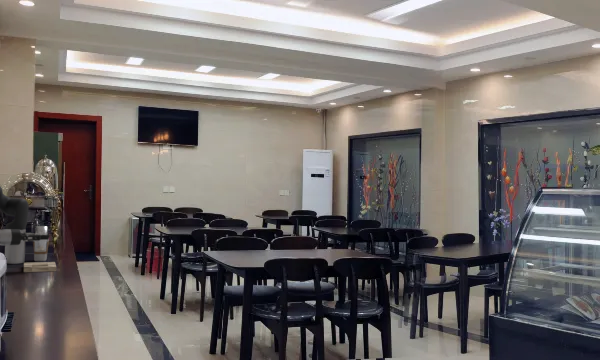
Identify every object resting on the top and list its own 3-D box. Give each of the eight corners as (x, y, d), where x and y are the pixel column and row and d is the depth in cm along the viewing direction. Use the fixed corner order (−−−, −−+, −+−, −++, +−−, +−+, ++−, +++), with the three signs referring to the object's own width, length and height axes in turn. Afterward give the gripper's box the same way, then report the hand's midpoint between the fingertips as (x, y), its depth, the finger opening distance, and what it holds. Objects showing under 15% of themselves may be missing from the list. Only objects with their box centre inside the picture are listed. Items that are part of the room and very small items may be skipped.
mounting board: (23, 266, 284) (24, 262, 284) (54, 266, 290) (54, 262, 290) (23, 272, 267) (23, 267, 267) (56, 271, 273) (56, 267, 273)
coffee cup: (51, 259, 312) (52, 232, 313) (43, 261, 304) (44, 233, 304) (37, 259, 313) (38, 231, 313) (28, 260, 305) (29, 232, 305)
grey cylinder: (35, 251, 273) (37, 226, 273) (32, 250, 277) (34, 226, 277) (47, 251, 276) (49, 226, 277) (44, 250, 280) (46, 226, 281)
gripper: (13, 230, 262) (51, 230, 273) (5, 228, 273) (42, 227, 284) (12, 246, 262) (50, 245, 273) (4, 243, 273) (41, 243, 284)
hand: (46, 236), depth 278 cm, fingers closed on grey cylinder, 5 cm apart
